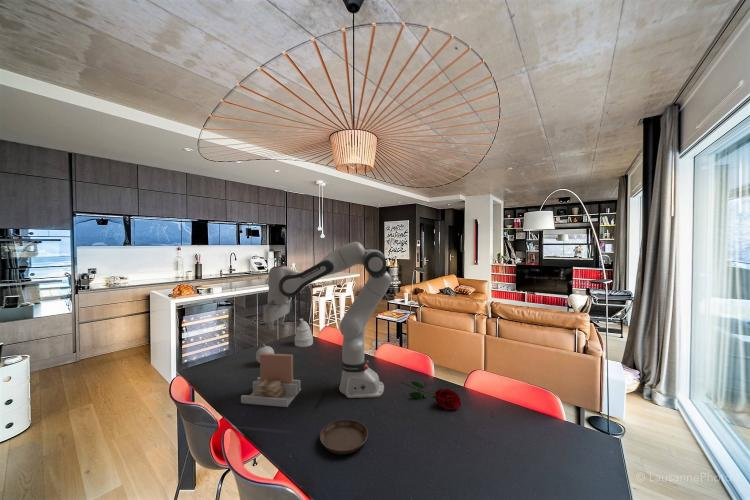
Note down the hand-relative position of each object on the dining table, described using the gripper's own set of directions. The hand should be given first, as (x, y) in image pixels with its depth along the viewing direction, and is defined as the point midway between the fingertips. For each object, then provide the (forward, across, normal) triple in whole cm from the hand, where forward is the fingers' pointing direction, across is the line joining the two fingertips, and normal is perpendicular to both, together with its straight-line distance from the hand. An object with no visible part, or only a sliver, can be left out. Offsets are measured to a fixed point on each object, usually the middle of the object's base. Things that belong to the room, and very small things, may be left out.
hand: (276, 327), depth 139 cm
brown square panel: (+31, 0, -1) cm, 31 cm away
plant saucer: (+32, -28, -42) cm, 60 cm away
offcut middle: (+29, -7, -1) cm, 30 cm away
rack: (+32, -4, -1) cm, 33 cm away
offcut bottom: (+31, -7, -1) cm, 32 cm away
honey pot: (+33, +68, +14) cm, 76 cm away
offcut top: (+26, -7, -1) cm, 27 cm away
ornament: (+33, +32, +23) cm, 51 cm away
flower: (+31, +4, -74) cm, 80 cm away
